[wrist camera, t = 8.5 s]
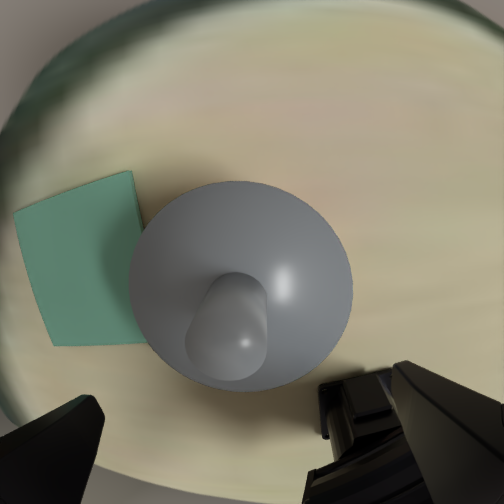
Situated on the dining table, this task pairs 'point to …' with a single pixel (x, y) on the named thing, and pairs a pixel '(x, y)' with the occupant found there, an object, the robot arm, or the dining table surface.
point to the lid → (240, 286)
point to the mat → (84, 261)
